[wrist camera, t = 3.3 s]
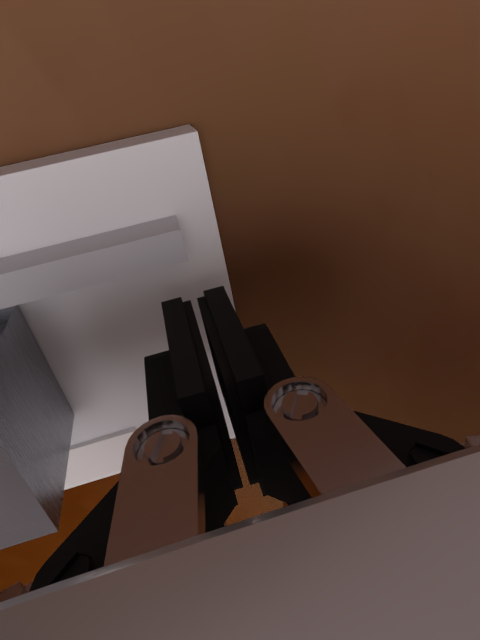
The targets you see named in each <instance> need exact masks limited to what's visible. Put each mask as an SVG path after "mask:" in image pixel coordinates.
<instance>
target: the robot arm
mask: <svg viewBox="0 0 480 640" xmlns="http://www.w3.org/2000/svg"><path fill="white" fill-rule="evenodd" d="M203 293H204V296H203V297H199V298H197V301H198V305H199V309H200V313H201V316H202V320H203V324H204V328H205V332H206V336H207V339H208V343H209V347H210V351H211V355H212V359H213V362H214V366H215V370H216V374H217V378H218V381H219V385H220V388H221V392H222V395H223V398H224V401H225V405H226V408H227V411H228V414H229V417H230V421H231V424H232V427H233V430H234V434H235V437H236V440H237V443H238V447H239V450H240V453H241V456H242V460H243V463H244V466H245V469H246V473H247V476H248V479H249V482H250V485H252V484H255V483H258V482H259V484H260V487H261V490H262V493H263V496H266V495H269V496H271V497H274V498H276V499H278V500H281V501H283V505H284V507H283V508H280V509H277V510H274V511H271V512H268V513H264V514H261V515H258V516H255V517H252V518H249V519H246V520H243V521H240V522H237V523H234V524H231V525H228V526H227V523H226V520H227V518H228V517H229V515H230V513H231V512H232V510H233V509H234V507H235V506H236V505H238V503H237V499H236V495H235V491H234V490H236V489H239V488H242V487H243V485H242V481H241V477H240V474H239V470H238V466H237V462H236V459H235V455H234V451H233V447H232V444H231V440H230V436H229V432H228V429H227V425H226V421H225V417H224V414H223V410H222V406H221V402H220V399H219V395H218V391H217V388H216V384H215V381H214V377H213V374H212V371H211V367H210V364H209V361H208V357H207V354H206V350H205V347H204V344H203V340H202V337H201V334H200V330H199V327H198V323H197V320H196V317H195V313H194V310H193V307H192V303H191V300H188V301H185V302H183V301H182V298H181V297H179V298H175V299H171V300H167V301H164V302H161V305H162V311H163V317H164V323H165V329H166V335H167V341H168V347H169V350H167V351H164V352H160V353H157V354H153V355H149V356H146V357H144V366H145V379H146V392H147V405H148V418H149V421H148V422H146V423H144V424H142V425H141V426H140V427H139V428H138V429H136V430H135V431H134V432H133V434H132V435H131V436H130V438H129V439H128V442H127V444H126V447H125V451H124V457H123V462H122V468H121V473H120V479H119V481H118V482H117V483H116V484H115V486H114V487H113V488H112V489H111V490H110V491H109V492H108V493H107V494H106V496H105V497H104V498H103V499H102V500H101V501H100V502H99V503H98V504H97V506H96V507H95V508H94V509H93V510H92V511H91V512H90V513H89V514H88V515H87V517H86V518H85V519H84V520H83V521H82V522H81V523H80V524H79V525H78V527H77V528H76V529H75V530H74V531H73V532H72V533H71V534H70V535H69V537H68V538H67V539H66V540H65V541H64V542H63V543H62V544H61V545H60V546H59V548H58V549H57V550H56V551H55V552H54V553H53V554H52V555H51V556H50V558H49V559H48V560H47V561H46V562H45V563H44V565H43V566H42V568H41V569H40V570H39V572H38V573H37V574H36V576H35V579H34V581H33V582H31V583H29V584H27V585H26V586H24V585H23V584H22V583H21V581H20V582H18V583H16V584H14V585H12V586H10V587H8V588H7V589H5V590H3V591H1V592H0V640H480V435H474V436H466V440H465V442H463V443H458V442H456V441H455V440H453V439H451V438H449V437H446V436H443V435H441V434H437V433H433V432H430V431H426V430H422V429H419V428H415V427H411V426H408V425H404V424H400V423H397V422H393V421H389V420H385V419H382V418H378V417H374V416H371V415H367V414H363V413H360V412H356V411H353V410H352V409H351V408H350V407H349V406H348V405H347V404H346V403H345V402H344V401H343V400H342V399H341V398H340V397H339V396H338V395H337V393H336V392H335V391H334V390H333V389H332V388H331V387H330V386H328V385H327V384H326V383H324V382H323V381H321V380H318V379H316V378H311V377H304V376H303V377H295V376H294V374H293V372H292V370H291V368H290V367H289V365H288V363H287V361H286V360H285V358H284V356H283V354H282V352H281V351H280V349H279V347H278V345H277V343H276V342H275V340H274V338H273V336H272V335H271V333H270V331H269V329H268V327H267V326H266V324H260V325H257V326H253V327H250V328H246V329H243V327H242V325H241V323H240V321H239V319H238V316H237V314H236V312H235V310H234V308H233V306H232V303H231V301H230V299H229V297H228V295H227V293H226V291H225V288H224V286H220V287H216V288H212V289H209V290H205V291H203Z"/></svg>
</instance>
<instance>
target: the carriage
mask: <svg viewBox="0 0 480 640" xmlns="http://www.w3.org/2000/svg"><path fill="white" fill-rule="evenodd" d="M74 415H75V414H74V412H73V410H72V408H71V407H70V405H69V403H68V401H67V399H66V397H65V395H64V393H63V391H62V389H61V387H60V385H59V383H58V381H57V379H56V377H55V375H54V374H53V372H52V370H51V368H50V366H49V364H48V362H47V360H46V358H45V356H44V354H43V352H42V350H41V348H40V346H39V344H38V343H37V341H36V339H35V337H34V335H33V333H32V331H31V329H30V327H29V325H28V323H27V321H26V319H25V317H24V315H23V313H22V312H21V310H20V308H19V306H18V305H16V306H12V307H8V308H4V309H0V549H3V548H7V547H10V546H13V545H16V544H19V543H23V542H26V541H29V540H32V539H35V538H38V537H42V536H45V535H48V534H51V533H54V532H58V529H59V522H60V514H61V507H62V500H63V493H64V486H65V479H66V472H67V464H68V457H69V450H70V443H71V436H72V429H73V422H74Z"/></svg>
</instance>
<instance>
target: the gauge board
mask: <svg viewBox="0 0 480 640" xmlns="http://www.w3.org/2000/svg"><path fill="white" fill-rule="evenodd" d="M220 286H224V288H225V291H226V293H227V295H228V297H229V299H230V301H231V303H232V306H233V308H234V310H235V306H234V301H233V296H232V292H231V287H230V282H229V278H228V273H227V268H226V263H225V259H224V254H223V249H222V245H221V240H220V235H219V231H218V226H217V221H216V216H215V212H214V207H213V202H212V198H211V193H210V188H209V183H208V179H207V174H206V169H205V165H204V160H203V155H202V150H201V146H200V141H199V136H198V132H197V130H195V129H194V128H193V127H192V126H191V125H190V124H188V125H184V126H179V127H175V128H170V129H166V130H162V131H157V132H153V133H148V134H144V135H139V136H135V137H131V138H126V139H122V140H117V141H113V142H108V143H104V144H100V145H95V146H91V147H86V148H82V149H77V150H73V151H69V152H64V153H60V154H55V155H51V156H46V157H42V158H38V159H33V160H29V161H24V162H20V163H15V164H11V165H7V166H2V167H0V309H4V308H8V307H12V306H16V305H18V306H19V308H20V310H21V312H22V313H23V315H24V317H25V319H26V321H27V323H28V325H29V327H30V329H31V331H32V333H33V335H34V337H35V339H36V341H37V343H38V344H39V346H40V348H41V350H42V352H43V354H44V356H45V358H46V360H47V362H48V364H49V366H50V368H51V370H52V372H53V374H54V375H55V377H56V379H57V381H58V383H59V385H60V387H61V389H62V391H63V393H64V395H65V397H66V399H67V401H68V403H69V405H70V407H71V408H72V410H73V412H74V414H75V415H74V422H73V429H72V436H71V443H70V450H69V457H68V464H67V472H66V479H65V486H64V490H66V489H69V488H72V487H76V486H79V485H82V484H85V483H89V482H92V481H95V480H98V479H102V478H105V477H108V476H112V475H115V474H118V473H121V468H122V462H123V457H124V451H125V447H126V444H127V442H128V439H129V438H130V436H131V435H132V434H133V432H134V431H135V430H136V429H138V428H139V427H140V426H141V425H142V424H144V423H146V422H148V421H149V418H148V405H147V392H146V379H145V366H144V357H146V356H149V355H153V354H157V353H160V352H164V351H167V350H169V347H168V341H167V335H166V329H165V323H164V317H163V311H162V305H161V302H164V301H167V300H171V299H175V298H179V297H181V298H182V301H183V302H185V301H188V300H191V303H192V307H193V310H194V313H195V317H196V320H197V323H198V327H199V330H200V334H201V337H202V340H203V344H204V347H205V350H206V354H207V357H208V361H209V364H210V367H211V371H212V374H213V377H214V381H215V384H216V388H217V391H218V395H219V399H220V402H221V406H222V410H223V414H224V417H225V421H226V425H227V429H228V432H229V436H230V439H232V438H236V437H235V434H234V430H233V427H232V424H231V421H230V417H229V414H228V411H227V408H226V405H225V401H224V398H223V395H222V392H221V388H220V385H219V381H218V378H217V374H216V370H215V366H214V362H213V359H212V355H211V351H210V347H209V343H208V339H207V336H206V332H205V328H204V324H203V320H202V316H201V313H200V309H199V305H198V301H197V298H199V297H203V296H204V293H203V291H205V290H209V289H212V288H216V287H220ZM235 312H236V311H235Z"/></svg>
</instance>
